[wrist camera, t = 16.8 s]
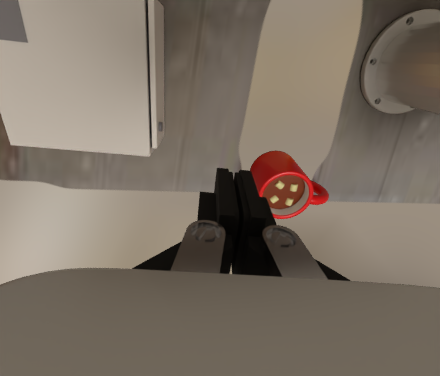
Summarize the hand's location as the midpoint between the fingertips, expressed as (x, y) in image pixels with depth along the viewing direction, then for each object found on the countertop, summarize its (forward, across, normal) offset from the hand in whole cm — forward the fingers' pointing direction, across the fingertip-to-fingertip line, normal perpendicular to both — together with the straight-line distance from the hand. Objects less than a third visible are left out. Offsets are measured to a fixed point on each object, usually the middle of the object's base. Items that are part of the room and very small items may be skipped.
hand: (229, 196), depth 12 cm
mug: (+26, -12, +10) cm, 31 cm away
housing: (+26, +17, -2) cm, 31 cm away
